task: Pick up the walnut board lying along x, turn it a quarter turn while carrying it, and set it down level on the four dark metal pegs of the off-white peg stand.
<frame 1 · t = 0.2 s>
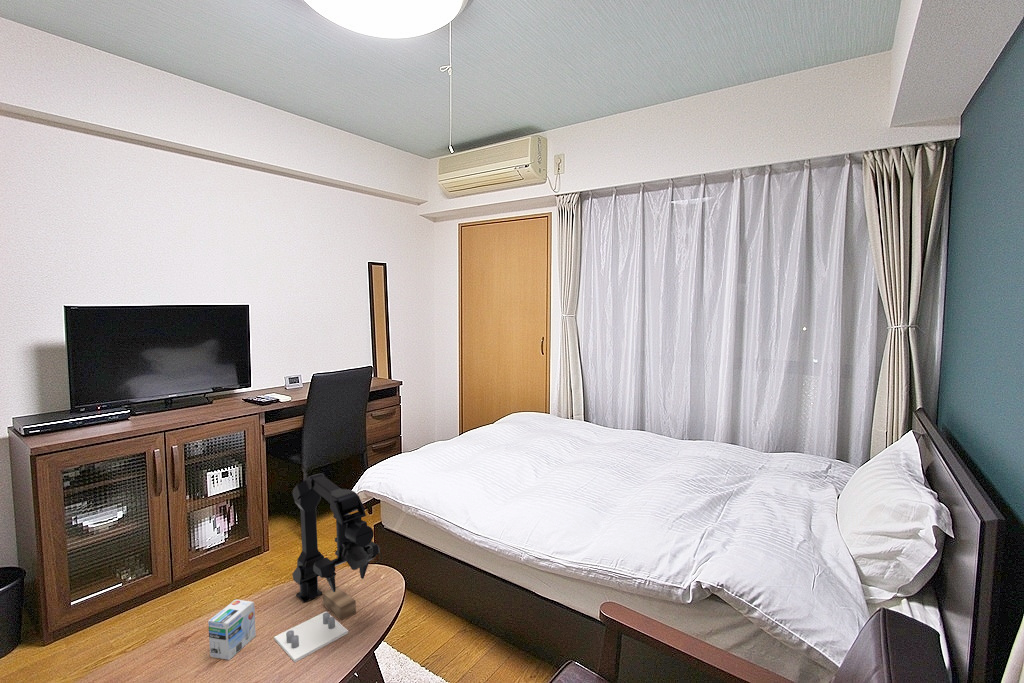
hand: (348, 584, 146), 14 cm above the table, fingers open, 9 cm apart
peg stand: (311, 636, 144), on the table
light bulb box: (233, 646, 140), on the table
walnut board: (339, 609, 157), on the table
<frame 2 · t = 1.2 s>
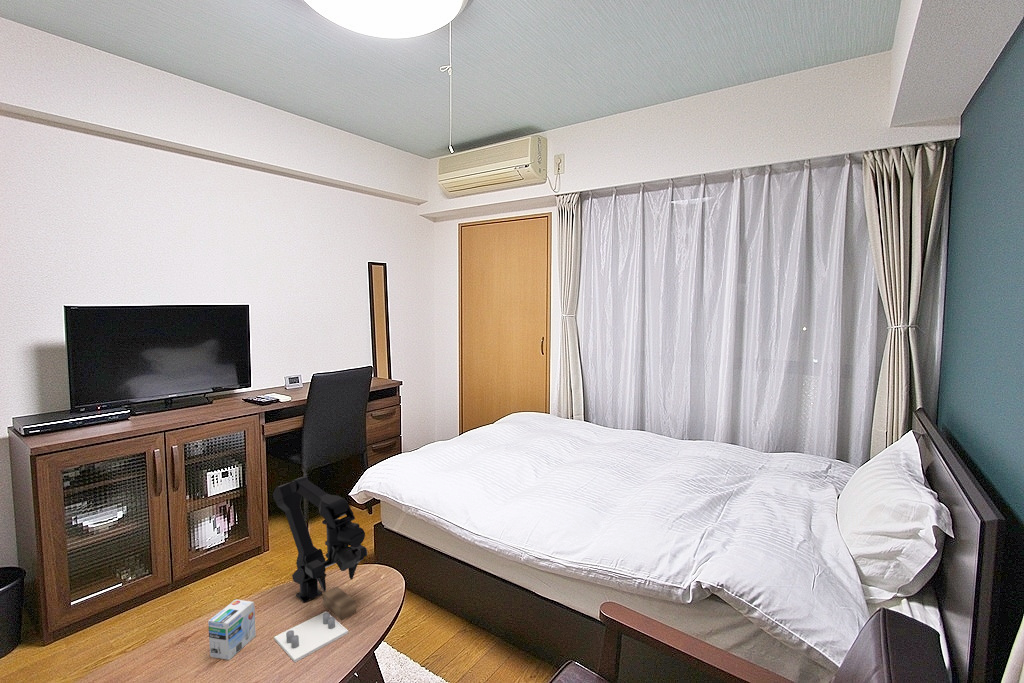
hand: (338, 585, 156), 8 cm above the table, fingers open, 9 cm apart
nothing on the table moved.
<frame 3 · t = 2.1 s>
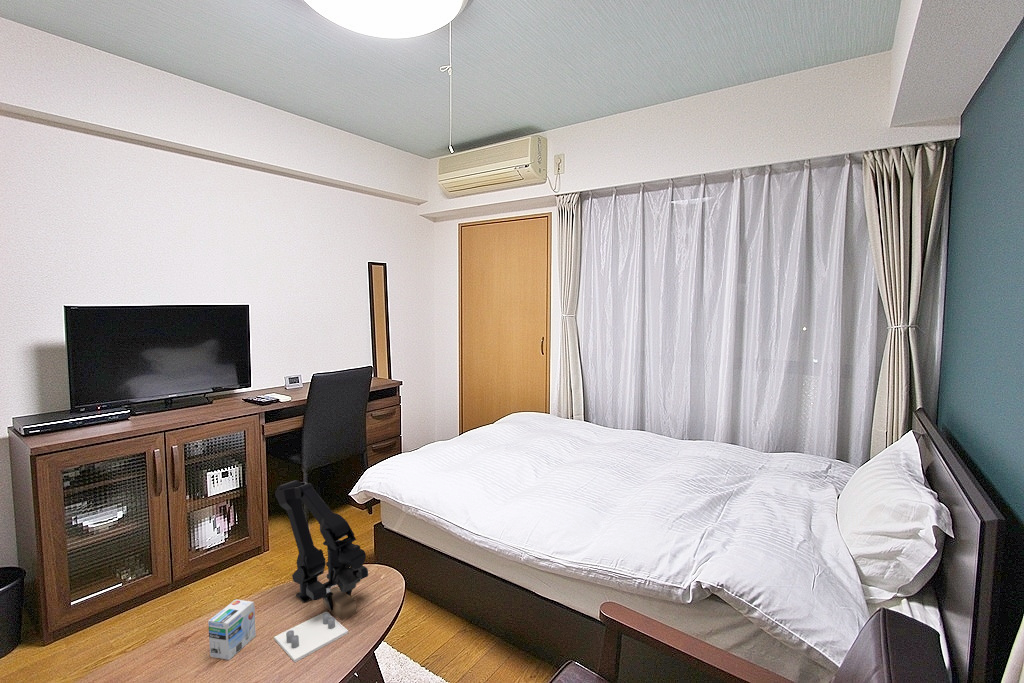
hand: (339, 606, 157), 1 cm above the table, fingers closed on walnut board, 5 cm apart
walnut board: (339, 609, 157), on the table, touching gripper
everything else where it was.
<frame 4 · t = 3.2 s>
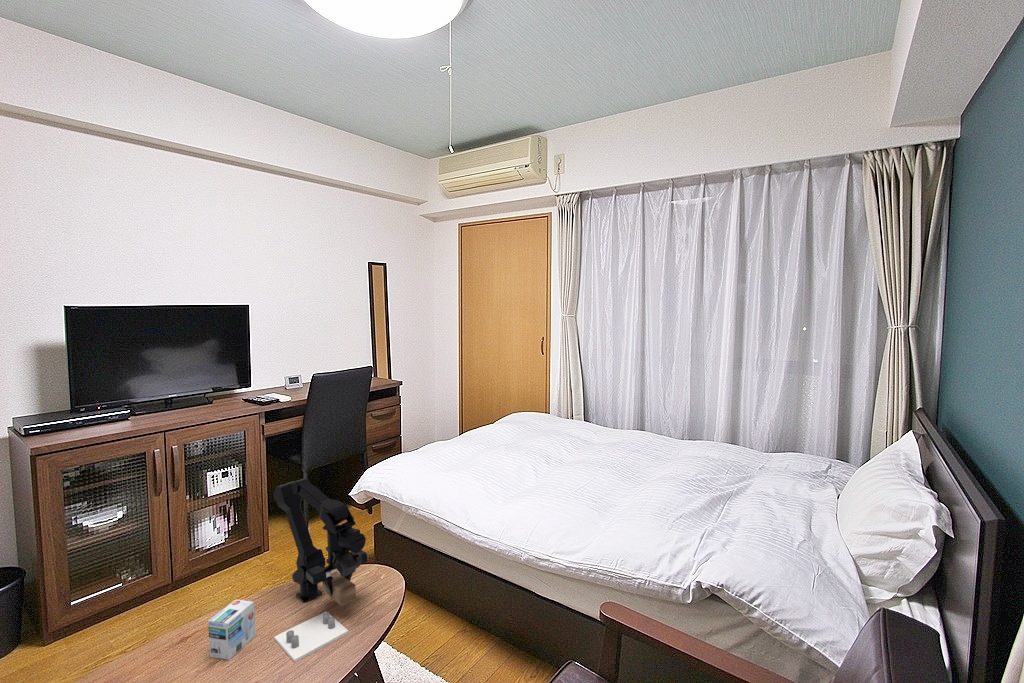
hand: (339, 590, 156), 6 cm above the table, fingers closed on walnut board, 5 cm apart
walnut board: (339, 594, 156), point 5 cm above the table, touching gripper
everything else where it was.
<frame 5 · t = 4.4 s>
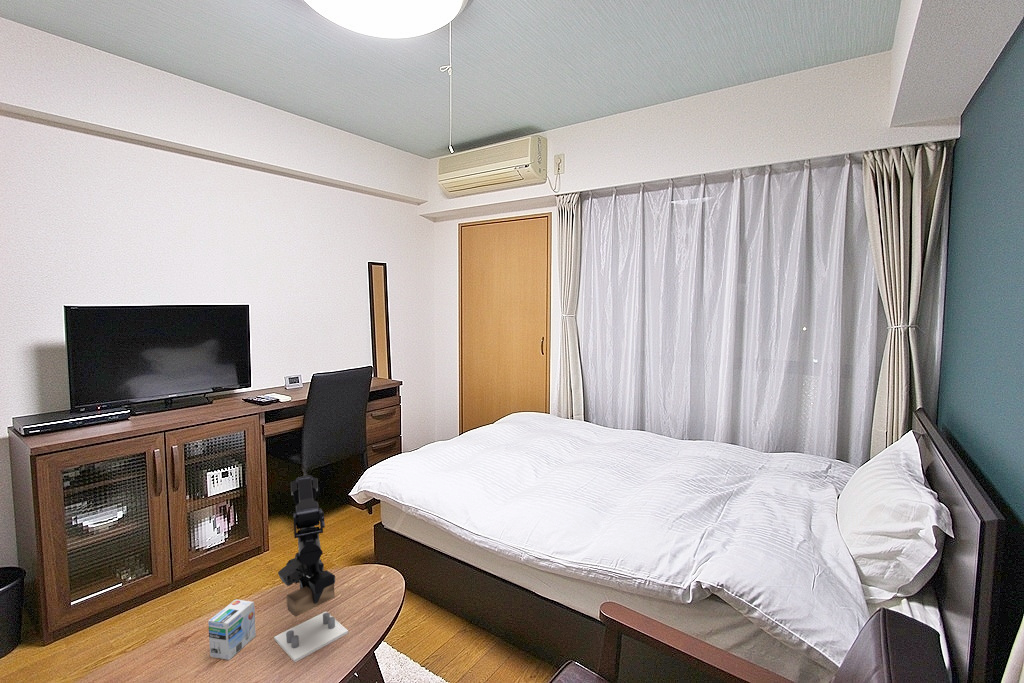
hand: (311, 599, 143), 11 cm above the table, fingers closed on walnut board, 5 cm apart
walnut board: (311, 603, 143), point 10 cm above the table, touching gripper
everything else where it was.
when the fingers open (6 cm above the table, at t = 5.7 s): walnut board drops 1 cm, resting on peg stand.
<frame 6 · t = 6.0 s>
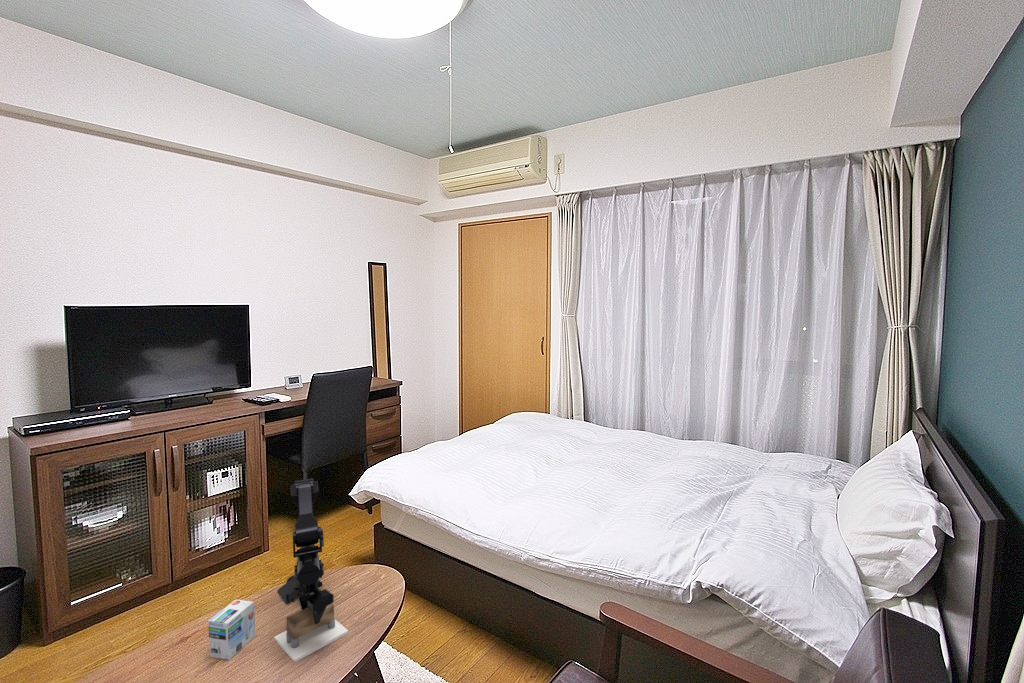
hand: (310, 617, 143), 6 cm above the table, fingers open, 8 cm apart
walnut board: (311, 625, 144), point 3 cm above the table, touching peg stand
everything else where it was.
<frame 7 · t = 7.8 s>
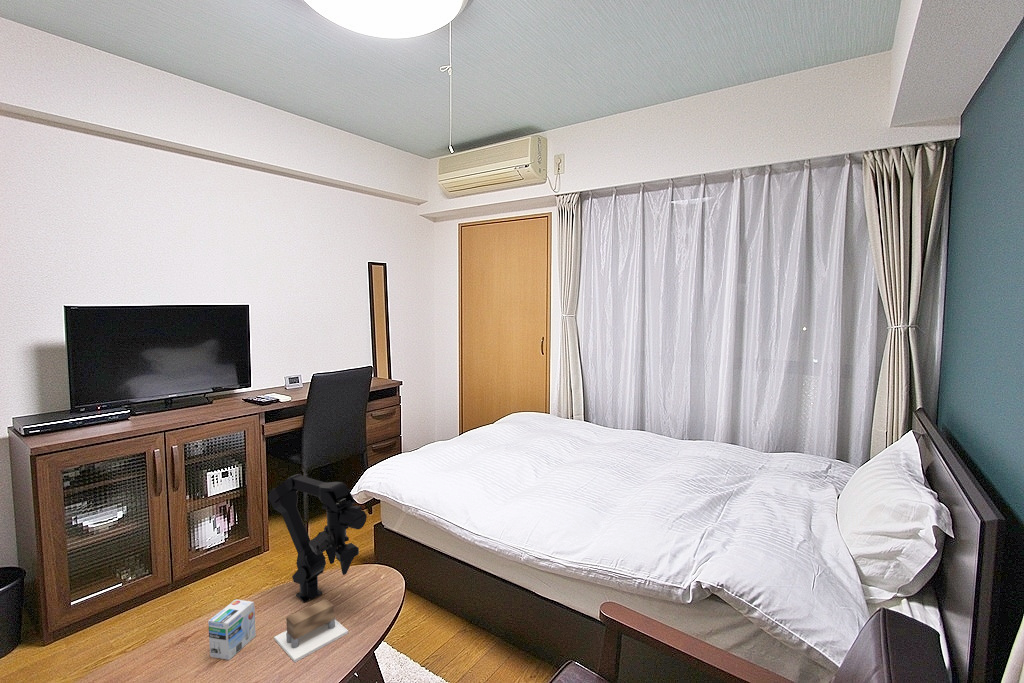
hand: (338, 568, 158), 12 cm above the table, fingers open, 9 cm apart
nothing on the table moved.
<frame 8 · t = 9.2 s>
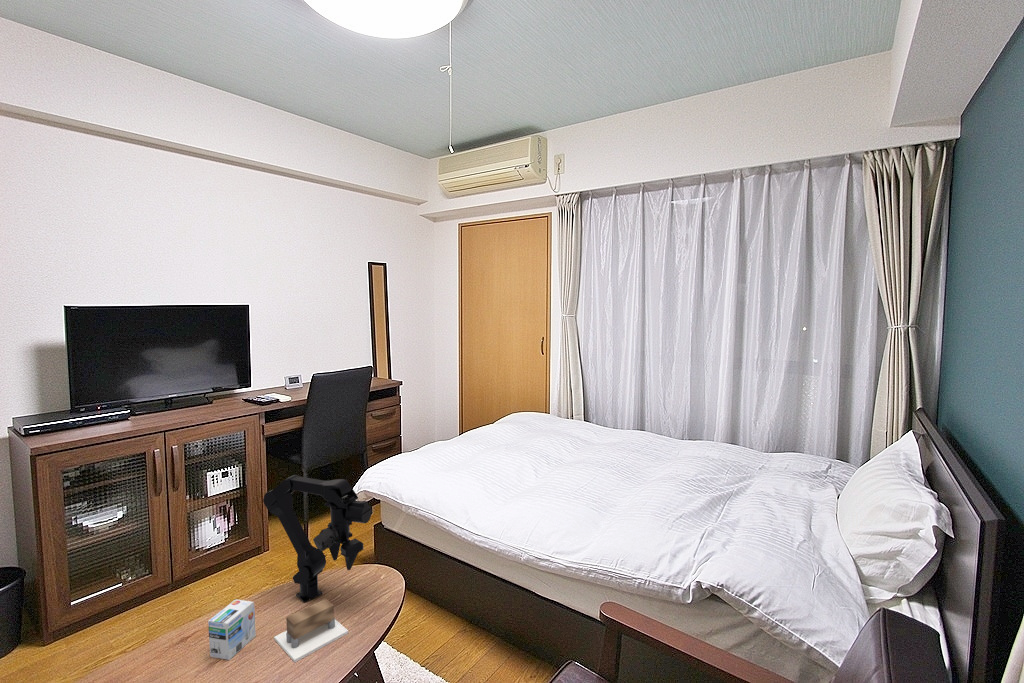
hand: (342, 565, 160), 13 cm above the table, fingers open, 9 cm apart
nothing on the table moved.
at the end: walnut board 0.0 cm off-centre on the peg stand, point 3.3 cm above the peg stand's base; walnut board tilted 0°; walnut board touching peg stand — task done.
